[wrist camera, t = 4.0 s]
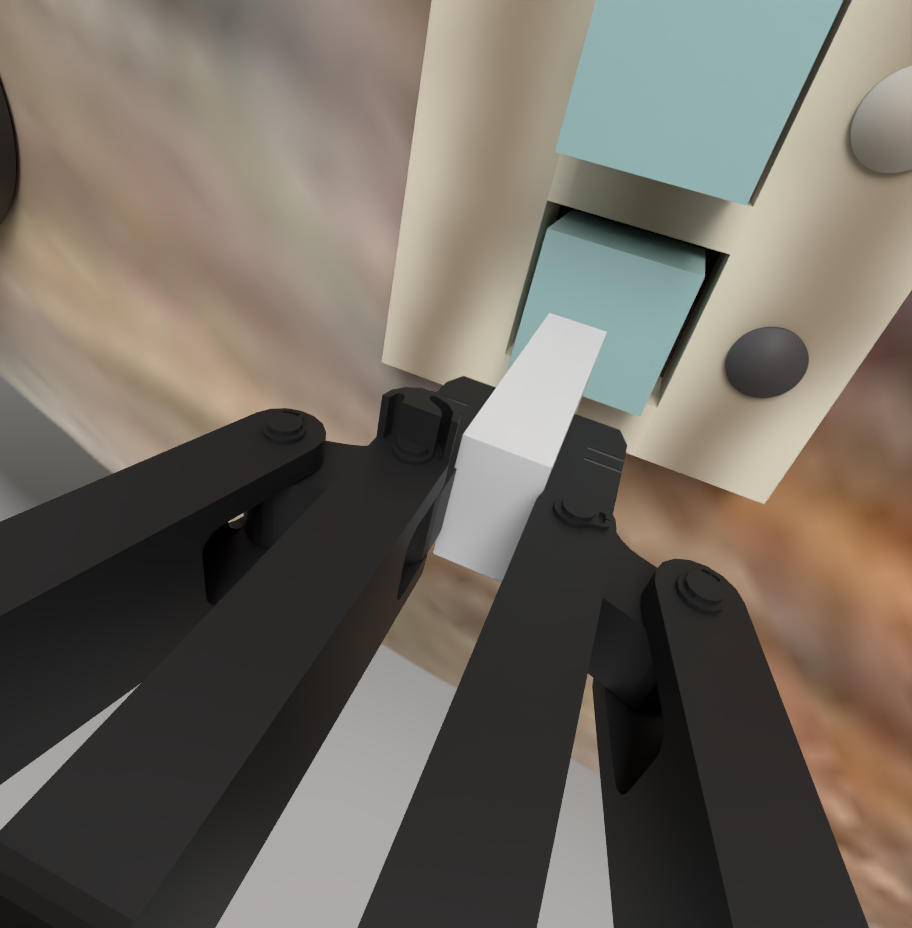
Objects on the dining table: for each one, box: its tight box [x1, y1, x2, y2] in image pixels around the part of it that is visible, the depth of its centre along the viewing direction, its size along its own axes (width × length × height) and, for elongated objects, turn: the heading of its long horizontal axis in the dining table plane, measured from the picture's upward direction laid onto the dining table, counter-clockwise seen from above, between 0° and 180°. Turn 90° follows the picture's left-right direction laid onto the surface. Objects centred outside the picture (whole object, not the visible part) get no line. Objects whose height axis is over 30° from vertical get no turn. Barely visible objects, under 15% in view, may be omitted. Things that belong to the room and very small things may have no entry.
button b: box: [555, 0, 843, 206], centre depth 14 cm, size 5×5×4 cm
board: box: [382, 0, 912, 504], centre depth 17 cm, size 16×24×3 cm, turn 167°
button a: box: [507, 210, 705, 416], centre depth 20 cm, size 5×5×4 cm
